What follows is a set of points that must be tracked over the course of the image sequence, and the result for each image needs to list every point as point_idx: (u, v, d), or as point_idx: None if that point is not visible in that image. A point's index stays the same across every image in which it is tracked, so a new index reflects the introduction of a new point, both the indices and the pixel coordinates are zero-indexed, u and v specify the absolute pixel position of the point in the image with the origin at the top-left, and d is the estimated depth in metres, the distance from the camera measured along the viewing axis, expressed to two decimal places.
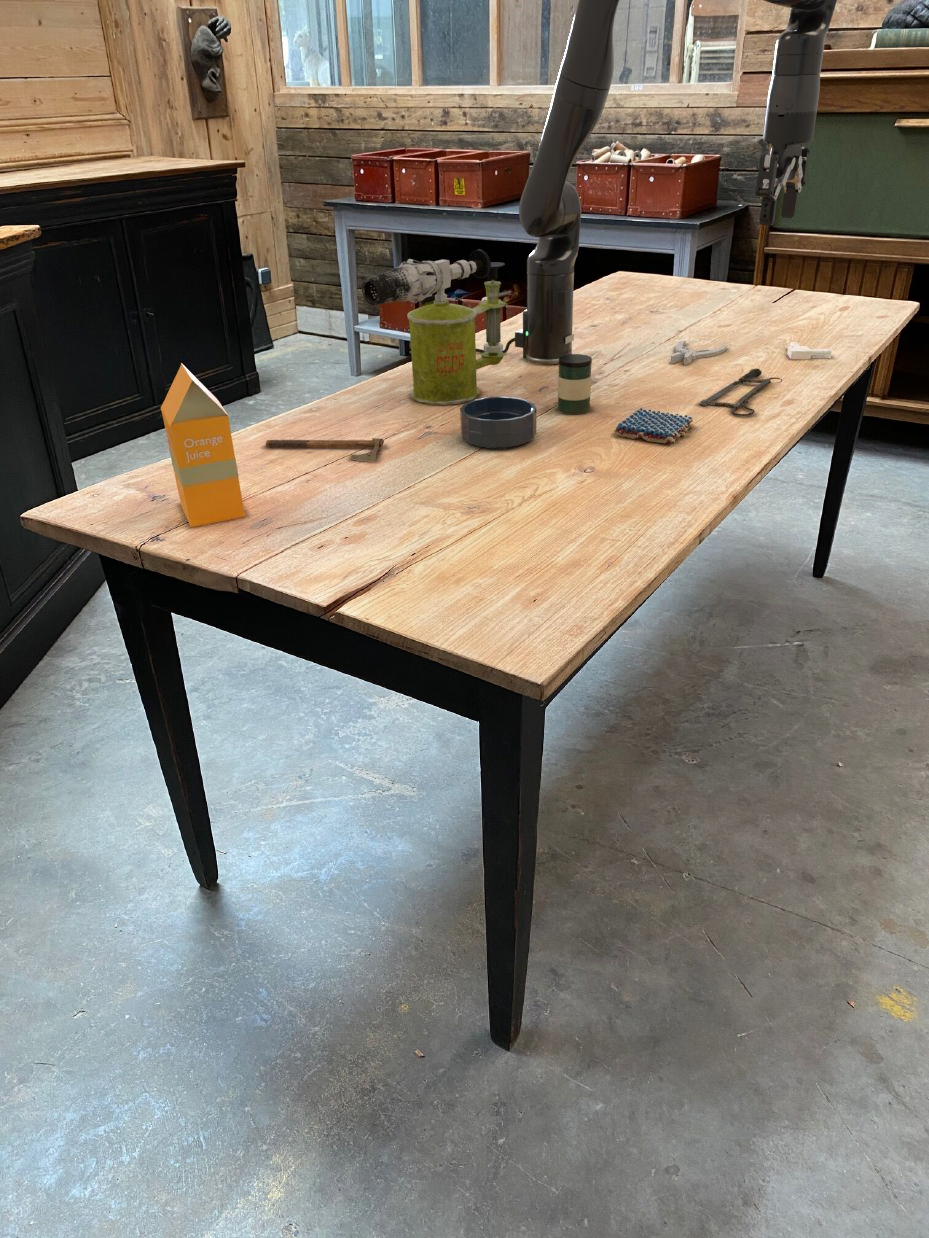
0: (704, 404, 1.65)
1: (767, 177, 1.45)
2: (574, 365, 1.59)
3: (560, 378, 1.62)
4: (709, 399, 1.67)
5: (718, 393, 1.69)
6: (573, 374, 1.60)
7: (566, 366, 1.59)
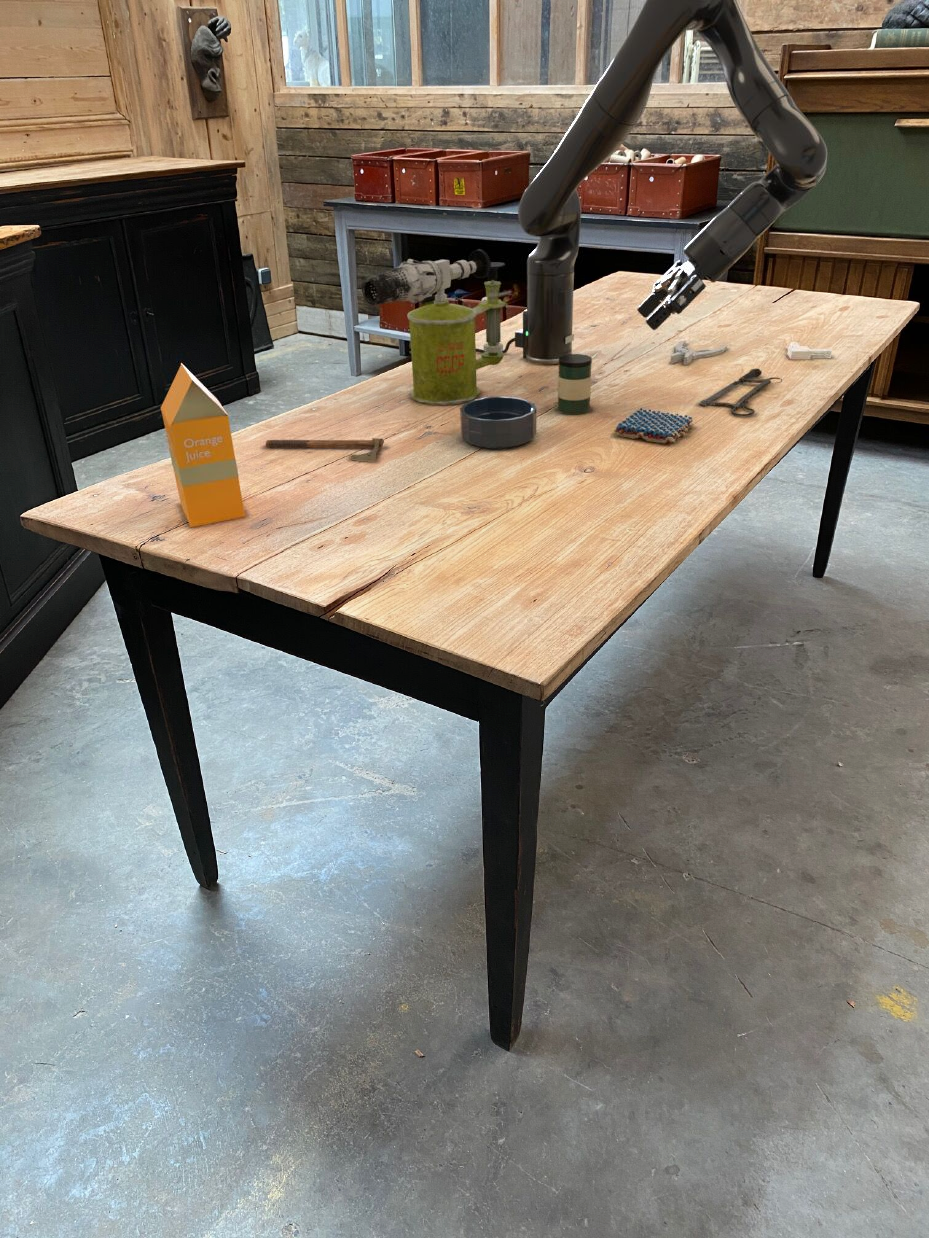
0: (704, 404, 1.65)
1: (688, 298, 1.49)
2: (574, 365, 1.59)
3: (560, 378, 1.62)
4: (709, 399, 1.67)
5: (718, 393, 1.69)
6: (573, 374, 1.60)
7: (566, 366, 1.59)
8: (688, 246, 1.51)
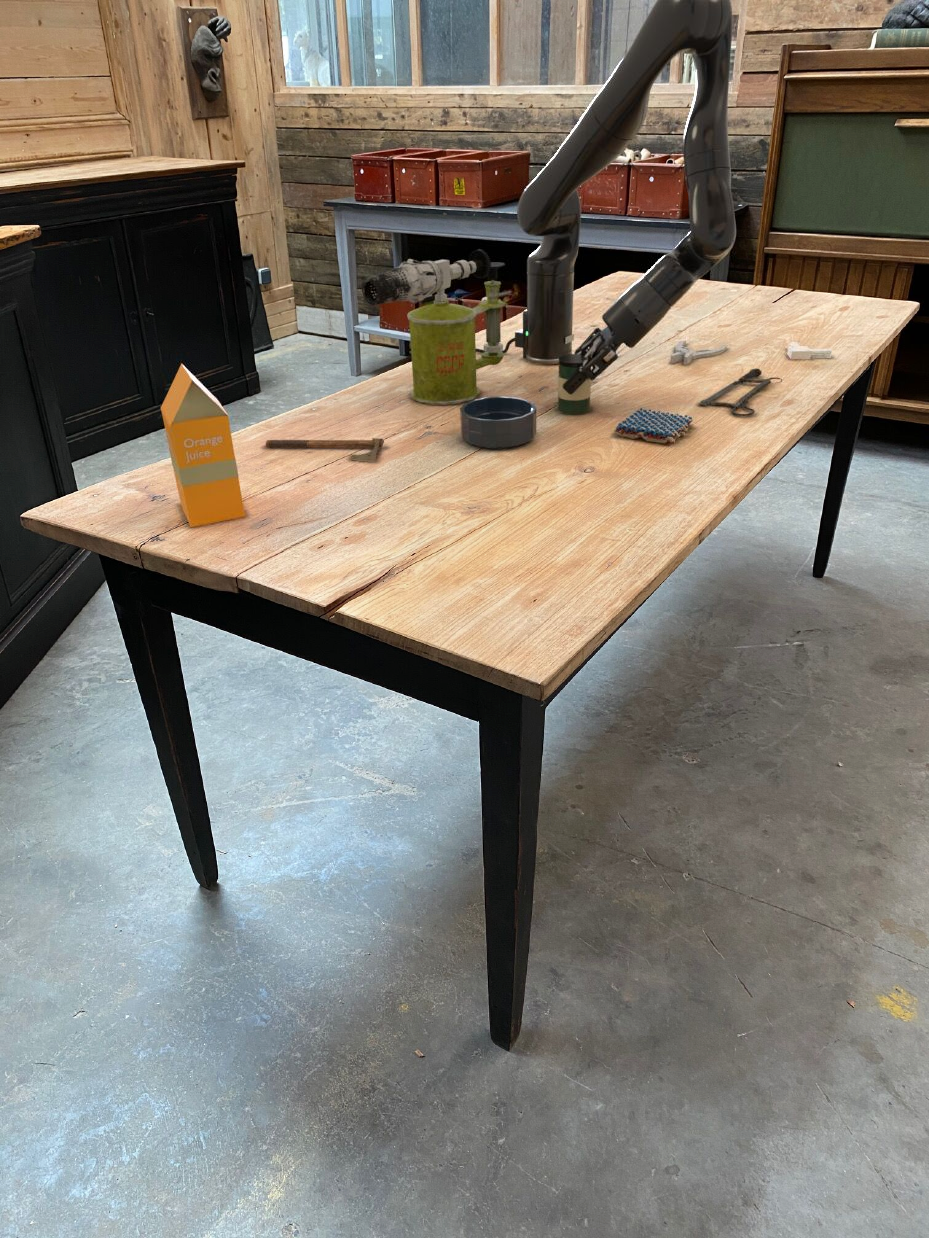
0: (704, 404, 1.65)
1: (600, 367, 1.55)
2: (574, 365, 1.59)
3: (560, 378, 1.62)
4: (709, 399, 1.67)
5: (718, 393, 1.69)
6: None
7: (566, 366, 1.59)
8: (606, 314, 1.57)
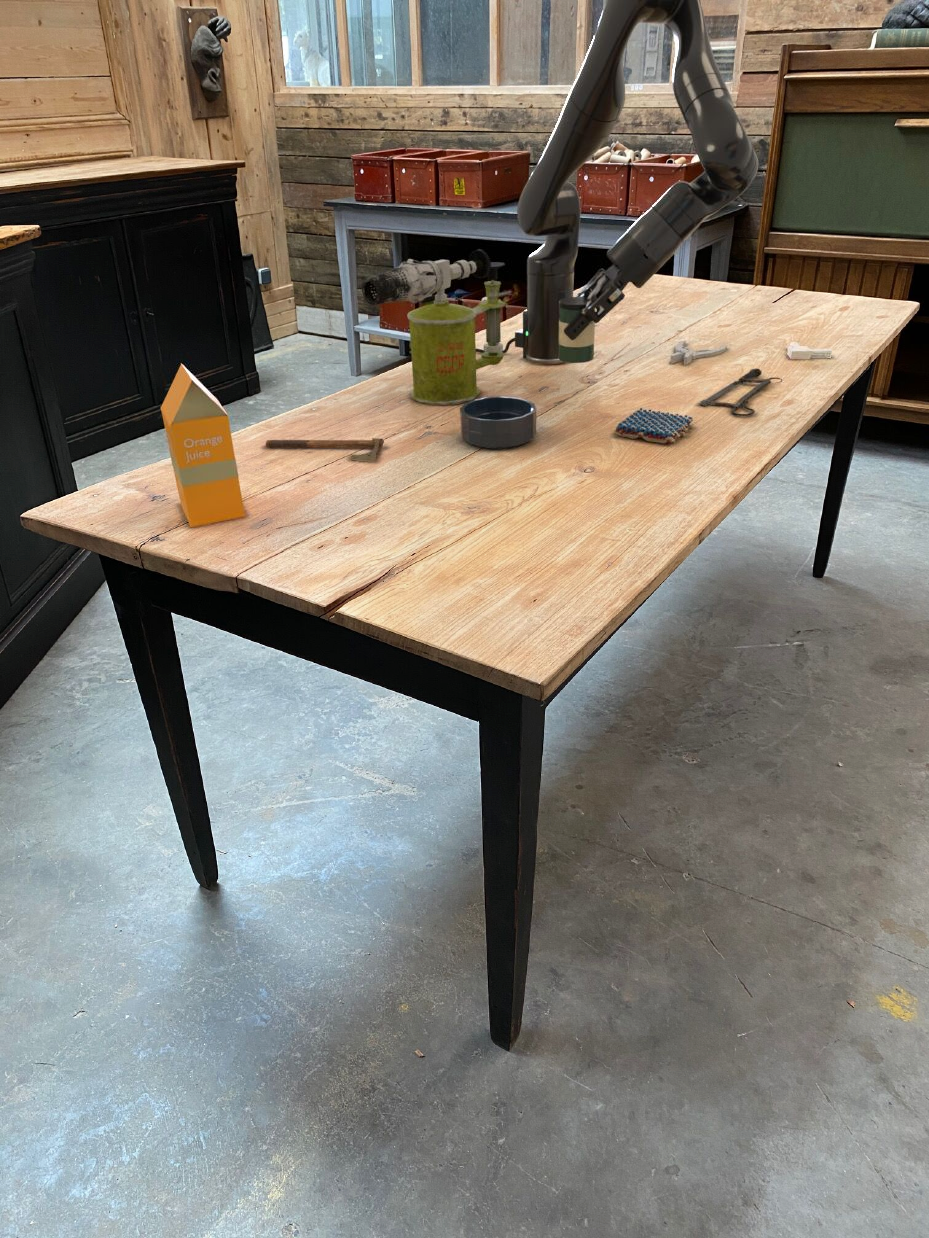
0: (704, 404, 1.65)
1: (605, 308, 1.41)
2: (577, 307, 1.44)
3: (561, 323, 1.47)
4: (709, 399, 1.67)
5: (718, 393, 1.69)
6: None
7: (567, 308, 1.45)
8: (611, 250, 1.42)
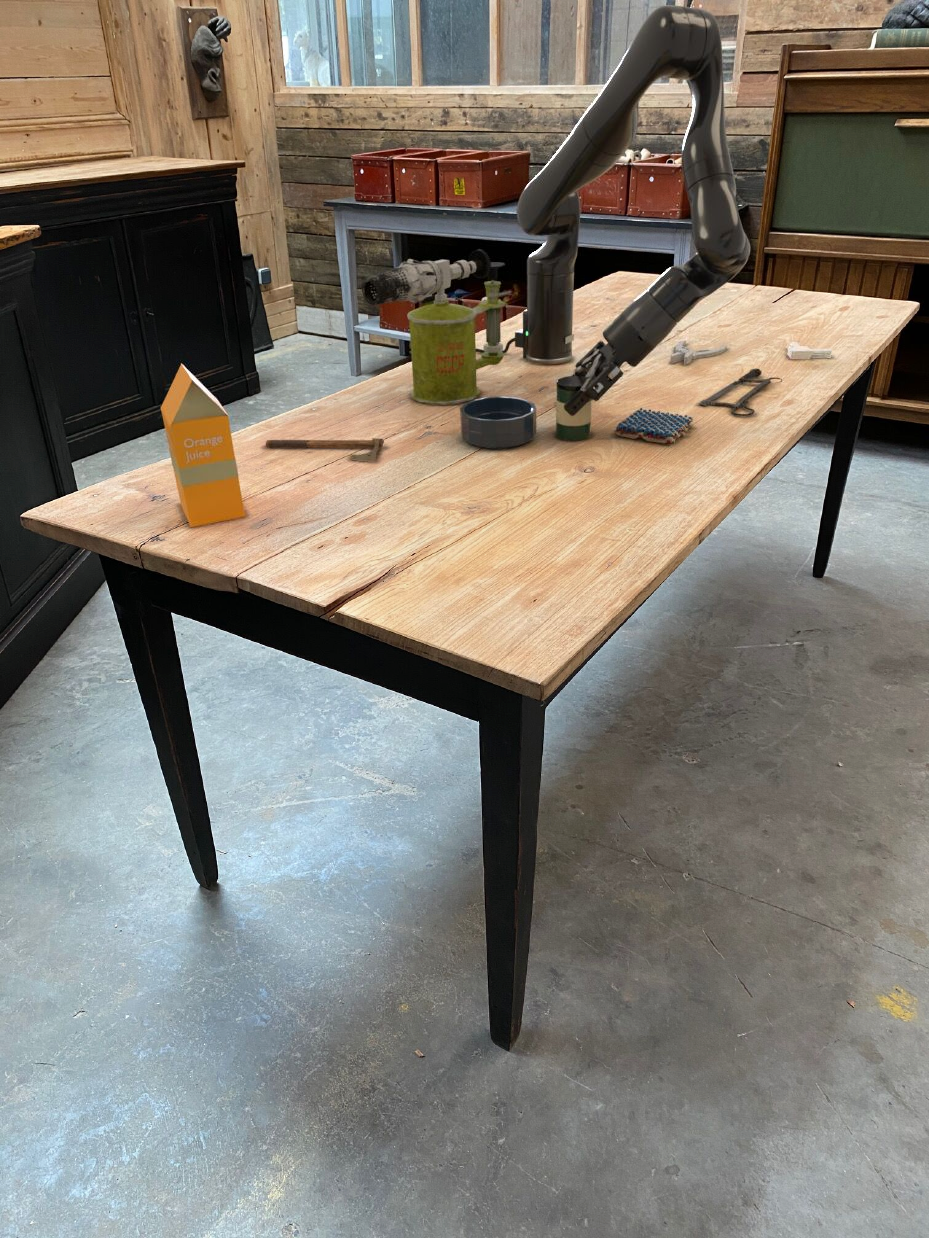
0: (704, 404, 1.65)
1: (605, 385, 1.43)
2: (574, 389, 1.48)
3: (558, 402, 1.50)
4: (709, 399, 1.67)
5: (718, 393, 1.69)
6: None
7: (565, 389, 1.48)
8: (606, 330, 1.45)
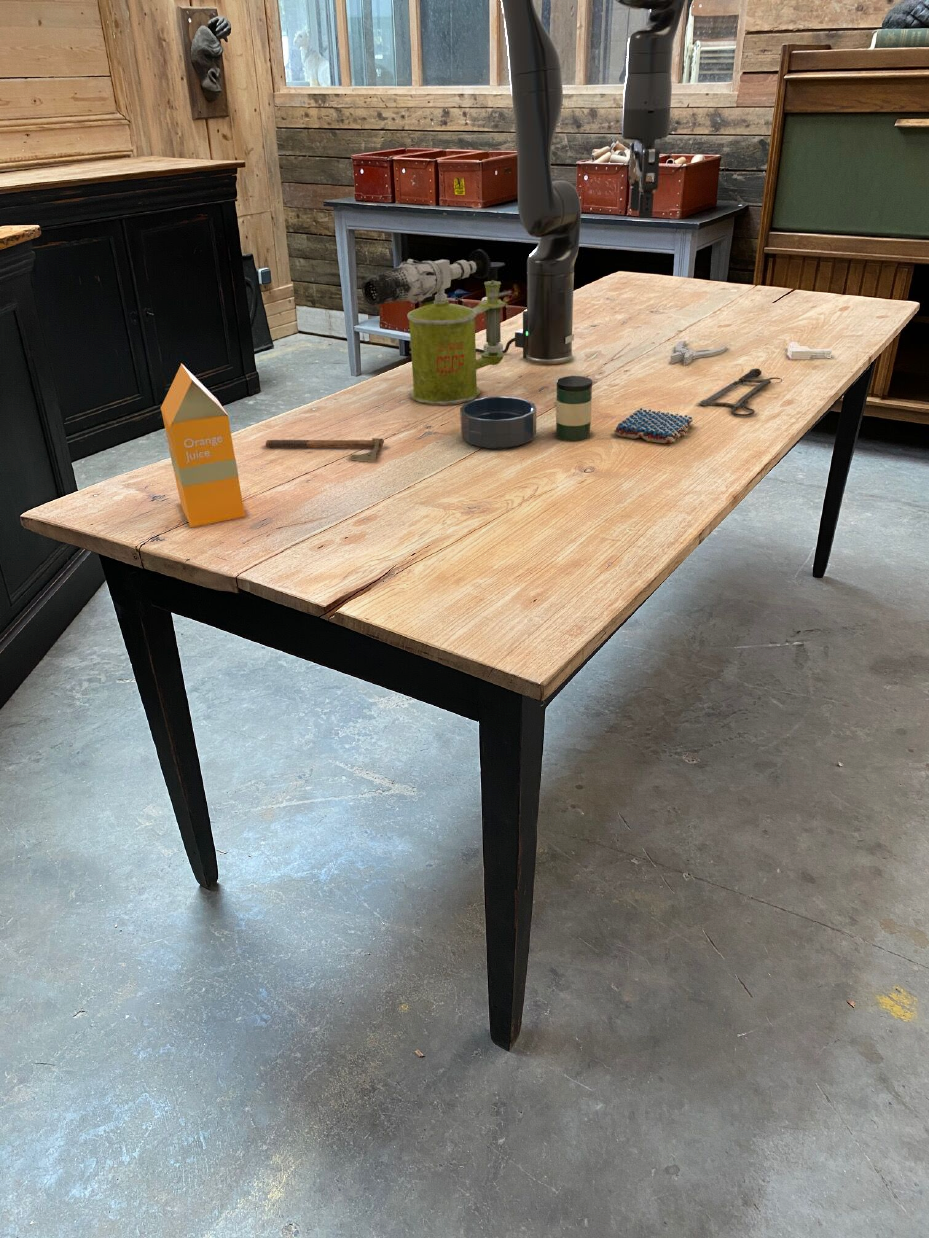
0: (704, 404, 1.65)
1: (653, 171, 1.50)
2: (574, 389, 1.48)
3: (558, 402, 1.50)
4: (709, 399, 1.67)
5: (718, 393, 1.69)
6: (572, 398, 1.48)
7: (565, 389, 1.48)
8: (623, 132, 1.53)
